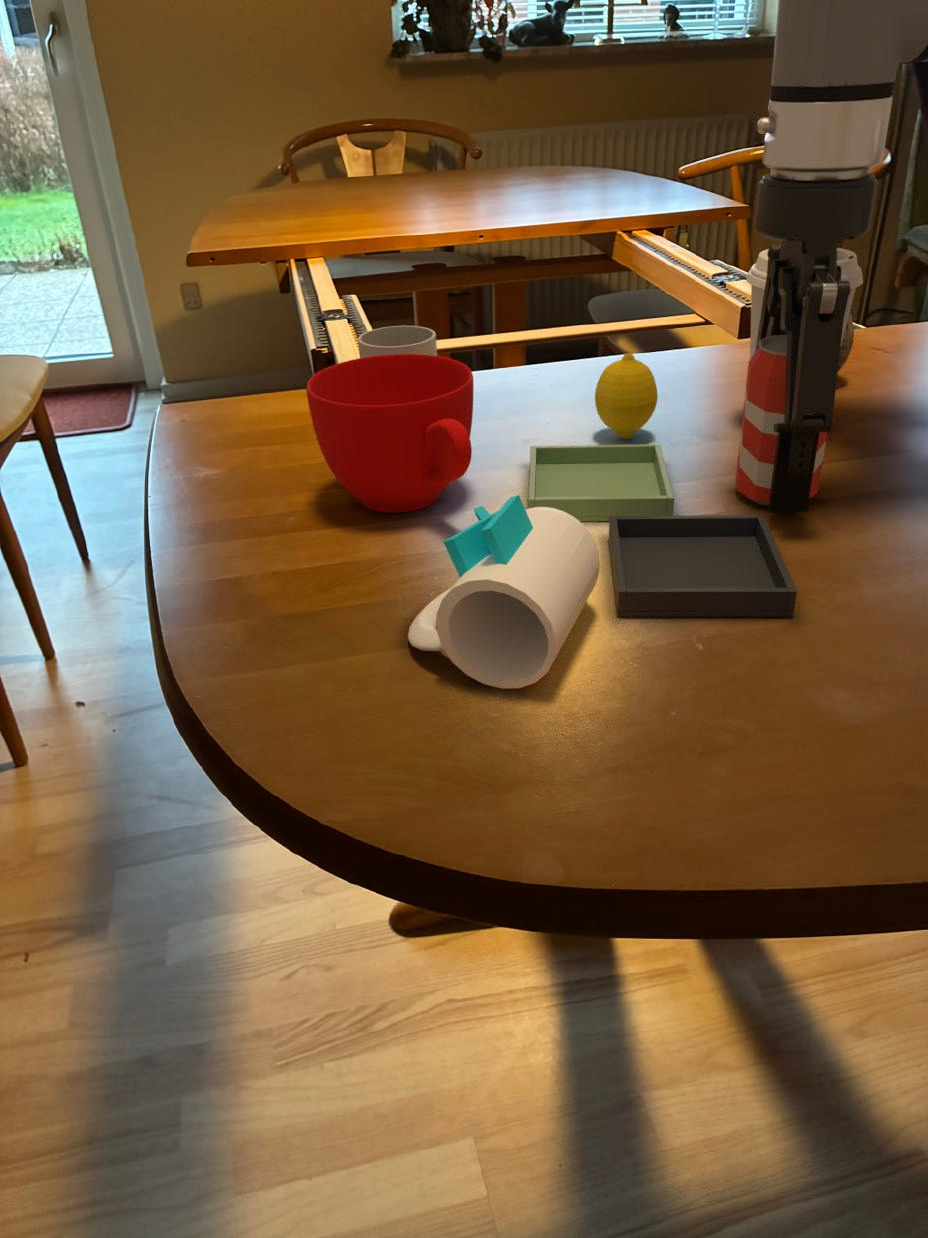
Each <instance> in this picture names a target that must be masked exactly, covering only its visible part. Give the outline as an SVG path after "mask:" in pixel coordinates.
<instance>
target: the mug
mask: <svg viewBox="0 0 928 1238" xmlns="http://www.w3.org/2000/svg"><path fill="white" fill-rule="evenodd" d="M473 511H474V514H475V516H476V518H477V522H474V523H473V524H471V525H469V526H468V527H466V528H464V529H463V530H461V531H459V532H458V533H456V534H454V535H452V536H451V537H449V538H448V539H445V540H444V541H443V545H444V548H445V549H446V551H447V553H448V555H449V557H450V559H451V562H452V563H453V565H454V568H455V571H456V572H457V574H458V576H459V577H458V578H457V580H456V581H455V582H454V584H453V585H452V586H451V587H450V588H449V589H447V590H445V591H443V592H442V593H440V594H439V595H438V596H437V597H435V598H434V599H433V600H431V601H430V602H428V603H427V605H426V606H425V607H424V608H422V610H420V612H419V613H418V614H417V615H416V616H415V617H414V619H413V620H412V622H411V625H410V626H409V628H408V635H407V640H408V642H409V643H410V646H412V647H414V648H416V649H418V650H419V651H424V652H425V651H426V652H440V651H441V652H442V651H444V653H446V655H447V657H448V658H449V659H450V661H451V662H452V663H453V664H454V665H455V667H457V668H458V669H459V670H460V671H462V672H463V673H464V674H465V675H466V676H467V677H470V678H472V679H474V680H475V681H477V682H479V683H481V684H483V685H486V686H490V687H493V688H498V689H505V690H506V689H522V688H524V687H528V686H530V685H533V684H536V683H537V682H538V681H539V680H540V679H541V678H543V677H544V676H545V675H547V674H548V673H549V671H550V669H551V667H552V665H553V664H554V662H555V660H556V659H557V656H558V654H559V652H560V651H561V649H562V647H563V645H564V644H565V642H566V640H567V638H568V637H569V634H570V633H571V630H572V628H573V627H574V625H575V623H576V622H577V619H578V618H579V616H580V614H581V612H582V610H583V608H584V607H585V605H586V603H587V601H588V599H589V597H590V595H591V593H593V590H594V589H595V587H596V584H597V582H598V578H599V575H600V567H601V563H600V562H601V560H600V555H599V549H598V546H597V543H596V541H595V539H594V537H593V534H591V532H590V530H589V529H588V528H587V527H586V526H585V525H584V524H583V523H582V521H579V520H577V519H576V518H575V517H573V516H572V515H570V514H568V513H566V512H564V511H561V510H558V509H554V508H548V507H534V508H529V509H528V508H525V506H524V504H523V501H522V499H521V496H520V494H516V495H513V496H510V497H508V499H507V500H506V501H505V503H504V504H503V505H502V506H501V507H500V508H499V510H497V511H495V512H493V513H489V511H488V510H487V509H486V508H485V507H484V506H483V505H480V506H478V507H474V508H473Z"/></svg>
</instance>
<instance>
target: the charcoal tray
mask: <svg viewBox="0 0 928 1238" xmlns="http://www.w3.org/2000/svg"><path fill="white" fill-rule="evenodd" d="M608 522H609V523H608V527H609V528H608V544H609V553H610V562H611V563H610V564H611V571H612V579H613V587H614V596H615V604H616V605H615V606H616V613H617V614H616V615H617V618H623V617H624V618H646V617H647V618H648V617H649V618H793V617H794V611H795V605H796V600H797V593H798V592H797V588H796V586H795V584H794V582H793V580H792V577H791V574H790V573H789V571H788V568H787V566H786V563H785V561H784V559H783V556H782V554H781V552H780V550H779V547H778V545H777V543H776V541H775V539H774V536H773V534H772V532H771V529H770V526H769V525H768V523H767V522H768V521H767V520H766V517H765V516H764V514H716V515H715V514H711V515H710V514H708V515H707V514H706V515H705V514H704V515H703V514H702V515H700V514H699V515H695V514H694V515H693V514H692V515H673V516H617V517H616V516H610V519H609V521H608Z"/></svg>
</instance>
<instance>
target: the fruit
mask: <svg viewBox="0 0 928 1238" xmlns="http://www.w3.org/2000/svg"><path fill="white" fill-rule="evenodd" d="M658 398H659V397H658V388H657V383H656V379H655V376H654V374H653V372H652V370H651V369H650V367H649V366H648V365H646V364H645V363H643V362H642V361H640V360H637V359H636V358H635V356H634V354H633V353H632V352H631V351H627V352H626V353H624V354H623V356H622V358H621V359H619V360H616V361H614V362H612V363H610V364H609V365H607V366H606V367H605V368H604V369H603V371H602V373H601V374H600V376H599V379H598V380H597V383H596V387H595V393H594V402H595V404H594V405H595V408H596V409H595V410H596V412H597V415H598V417H599V418H600V420H601V421H602V423H603V425H605V426H606V427H607V428H609V429H610V430H611V431H613V432H615V433H616V435H617V436H618V438H621V439H623V440H628V439H631V438H632V437H633V436H635V434H636V432H638V431H639V430H640V429H641V428H643V427H644V426H645V425H646V424H647V423H648V422H649V420H650V419H651V418H652V416H653V414H654V412H655V410H656V407H657V405H658Z"/></svg>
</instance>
